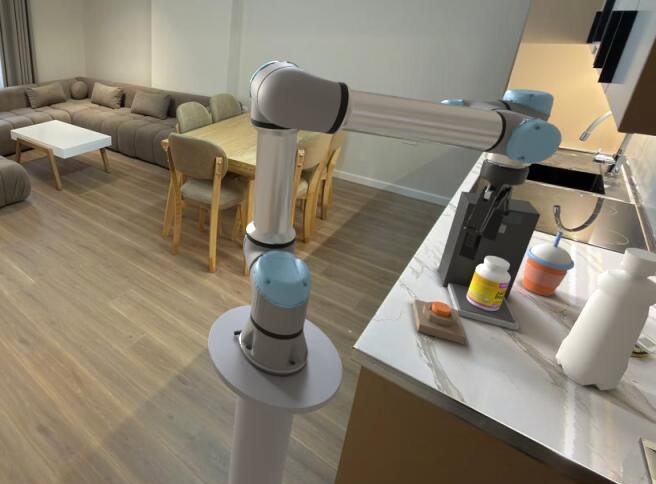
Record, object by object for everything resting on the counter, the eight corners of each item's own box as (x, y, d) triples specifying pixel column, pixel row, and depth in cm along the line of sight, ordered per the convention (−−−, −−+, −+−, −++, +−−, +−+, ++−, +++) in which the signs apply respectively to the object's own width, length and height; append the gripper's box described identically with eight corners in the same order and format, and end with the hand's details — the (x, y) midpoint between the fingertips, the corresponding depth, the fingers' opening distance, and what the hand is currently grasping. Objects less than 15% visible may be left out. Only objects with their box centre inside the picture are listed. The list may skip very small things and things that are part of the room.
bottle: (544, 352, 88) (597, 237, 78) (600, 366, 85) (662, 247, 74) (564, 384, 81) (625, 262, 70) (626, 401, 77) (700, 274, 67)
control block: (417, 331, 94) (421, 318, 93) (412, 305, 103) (416, 293, 101) (463, 344, 91) (468, 331, 89) (454, 316, 99) (458, 303, 98)
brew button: (432, 314, 95) (434, 308, 94) (430, 305, 98) (431, 299, 97) (450, 319, 93) (452, 313, 93) (447, 309, 96) (449, 304, 96)
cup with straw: (530, 276, 114) (552, 221, 107) (568, 296, 105) (595, 238, 99) (506, 281, 112) (527, 226, 105) (544, 302, 103) (570, 244, 97)
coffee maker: (451, 313, 100) (481, 224, 91) (437, 270, 117) (461, 191, 108) (522, 331, 94) (562, 238, 85) (497, 283, 111) (528, 201, 102)
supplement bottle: (492, 315, 97) (508, 272, 92) (460, 300, 102) (474, 258, 98) (503, 306, 100) (520, 263, 95) (473, 291, 105) (487, 250, 101)
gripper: (510, 182, 75) (478, 274, 82) (545, 155, 88) (515, 237, 95) (463, 170, 80) (437, 257, 88) (503, 147, 94) (477, 225, 101)
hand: (477, 247), depth 92 cm, fingers open, 13 cm apart
